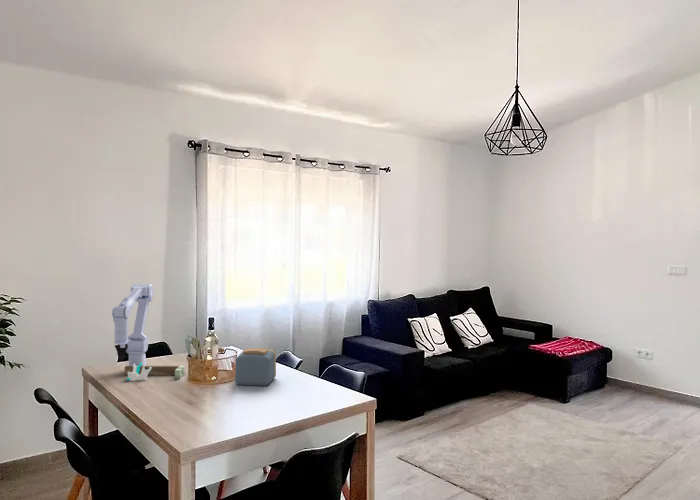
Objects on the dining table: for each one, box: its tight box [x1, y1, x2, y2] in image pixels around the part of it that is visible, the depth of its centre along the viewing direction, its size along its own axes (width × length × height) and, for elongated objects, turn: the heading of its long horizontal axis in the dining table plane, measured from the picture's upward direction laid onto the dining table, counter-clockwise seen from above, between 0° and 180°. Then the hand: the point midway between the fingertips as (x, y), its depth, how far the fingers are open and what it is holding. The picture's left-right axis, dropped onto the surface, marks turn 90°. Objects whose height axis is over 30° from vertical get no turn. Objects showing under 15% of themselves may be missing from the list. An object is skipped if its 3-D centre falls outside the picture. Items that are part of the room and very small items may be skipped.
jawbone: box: [126, 363, 152, 382], centre depth 255 cm, size 12×8×9 cm, turn 49°
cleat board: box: [124, 365, 186, 380], centre depth 260 cm, size 10×28×4 cm, turn 94°
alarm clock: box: [234, 347, 277, 387], centre depth 253 cm, size 16×16×16 cm
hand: (121, 360), depth 253 cm, fingers closed
